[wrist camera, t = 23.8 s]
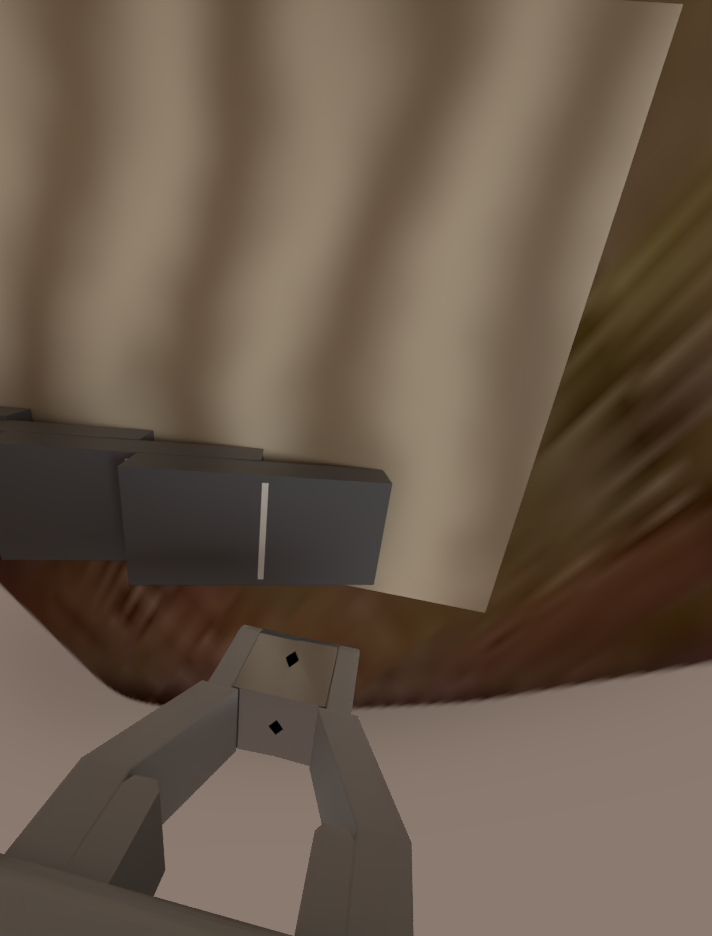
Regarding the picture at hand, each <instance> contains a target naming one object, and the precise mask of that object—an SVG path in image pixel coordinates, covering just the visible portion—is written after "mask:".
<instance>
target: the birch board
mask: <svg viewBox="0 0 712 936" xmlns="http://www.w3.org/2000/svg"><path fill="white" fill-rule="evenodd" d="M682 6H683V4H672V3H656V2H641V1H625V0H0V406H3V407H14V408H26V409H31V414H32V420H33V422H44V423H57V424H71V425H85V426H99V427H112V428H126V429H140V430H153V431H154V441H159V442H173V443H188V444H202V445H216V446H230V447H244V448H258V449H264V453H263V461H265V462H279V463H293V464H307V465H321V466H335V467H350V468H364V469H378V470H383V471H384V472H385V474H386V475H387V476H388V478H389V479H390V481H391V482H392V489H391V494H390V500H389V505H388V511H387V516H386V521H385V527H384V532H383V538H382V543H381V549H380V554H379V560H378V565H377V571H376V576H375V581H374V585H348V586H353V587H358V588H363V589H368V590H374V591H379V592H384V593H389V594H394V595H399V596H404V597H409V598H414V599H419V600H424V601H429V602H434V603H439V604H444V605H449V606H454V607H459V608H464V609H469V610H474V611H479V612H484V613H485V611H486V608H487V605H488V602H489V599H490V596H491V593H492V590H493V587H494V583H495V580H496V577H497V574H498V571H499V568H500V565H501V562H502V559H503V556H504V553H505V550H506V547H507V544H508V540H509V537H510V534H511V531H512V528H513V525H514V522H515V519H516V516H517V513H518V510H519V507H520V504H521V501H522V497H523V494H524V491H525V488H526V485H527V482H528V479H529V476H530V473H531V470H532V467H533V464H534V461H535V458H536V455H537V451H538V448H539V445H540V442H541V439H542V436H543V433H544V430H545V427H546V424H547V421H548V418H549V415H550V412H551V408H552V405H553V402H554V399H555V396H556V393H557V390H558V387H559V384H560V381H561V378H562V375H563V372H564V369H565V366H566V362H567V359H568V356H569V353H570V350H571V347H572V344H573V341H574V338H575V335H576V332H577V329H578V326H579V323H580V319H581V316H582V313H583V310H584V307H585V304H586V301H587V298H588V295H589V292H590V289H591V286H592V283H593V280H594V277H595V273H596V270H597V267H598V264H599V261H600V258H601V255H602V252H603V249H604V246H605V243H606V240H607V237H608V234H609V230H610V227H611V224H612V221H613V218H614V215H615V212H616V209H617V206H618V203H619V200H620V197H621V194H622V191H623V188H624V184H625V181H626V178H627V175H628V172H629V169H630V166H631V163H632V160H633V157H634V154H635V151H636V148H637V145H638V141H639V138H640V135H641V132H642V129H643V126H644V123H645V120H646V117H647V114H648V111H649V108H650V105H651V102H652V98H653V95H654V92H655V89H656V86H657V83H658V80H659V77H660V74H661V71H662V68H663V65H664V62H665V59H666V56H667V52H668V49H669V46H670V43H671V40H672V37H673V34H674V31H675V28H676V25H677V22H678V19H679V16H680V13H681V9H682Z"/></svg>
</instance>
